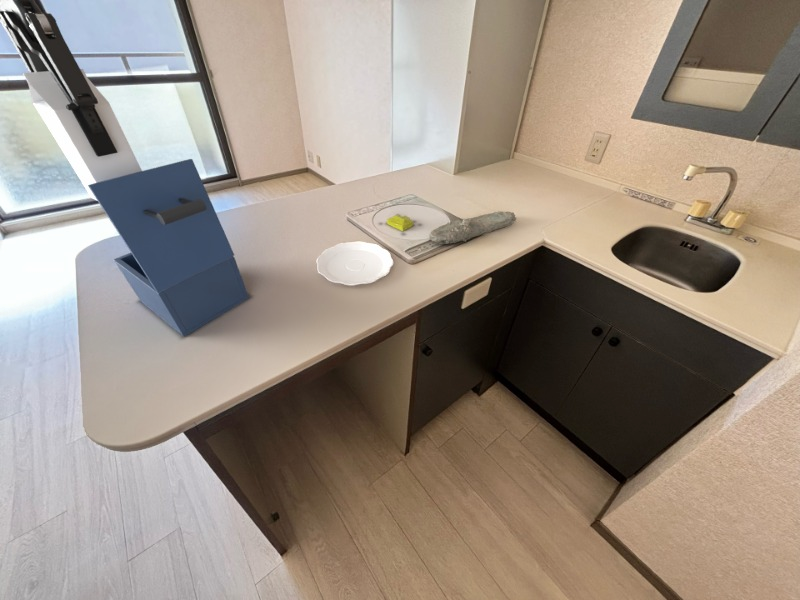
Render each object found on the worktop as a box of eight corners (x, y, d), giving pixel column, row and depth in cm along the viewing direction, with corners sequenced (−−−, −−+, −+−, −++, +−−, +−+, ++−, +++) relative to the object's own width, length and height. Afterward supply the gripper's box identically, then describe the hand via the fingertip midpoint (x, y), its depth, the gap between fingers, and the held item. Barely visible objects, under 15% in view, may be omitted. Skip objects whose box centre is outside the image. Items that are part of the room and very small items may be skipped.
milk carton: (154, 195, 60) (94, 71, 48) (111, 209, 56) (33, 75, 43) (133, 186, 63) (72, 66, 51) (91, 199, 58) (12, 70, 46)
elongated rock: (521, 229, 112) (500, 218, 119) (525, 214, 109) (503, 204, 116) (441, 250, 97) (422, 237, 103) (443, 234, 94) (423, 221, 100)
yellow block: (380, 224, 109) (380, 216, 108) (398, 215, 115) (398, 207, 113) (403, 234, 105) (403, 226, 103) (420, 224, 110) (421, 217, 108)
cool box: (140, 301, 77) (113, 259, 69) (205, 270, 87) (187, 230, 79) (184, 337, 69) (158, 293, 61) (249, 298, 79) (234, 256, 71)
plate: (360, 238, 102) (360, 234, 101) (408, 267, 91) (408, 262, 90) (302, 264, 90) (301, 259, 89) (348, 300, 79) (348, 295, 78)
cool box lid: (87, 184, 49) (107, 191, 45) (190, 158, 59) (215, 161, 55) (156, 291, 61) (177, 304, 56) (232, 254, 71) (256, 263, 67)
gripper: (55, -54, 37) (151, 156, 52) (1, -45, 45) (96, 133, 60) (-38, -66, 32) (96, 169, 47) (-80, -54, 41) (46, 142, 56)
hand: (96, 149), depth 54 cm, fingers closed on milk carton, 7 cm apart
